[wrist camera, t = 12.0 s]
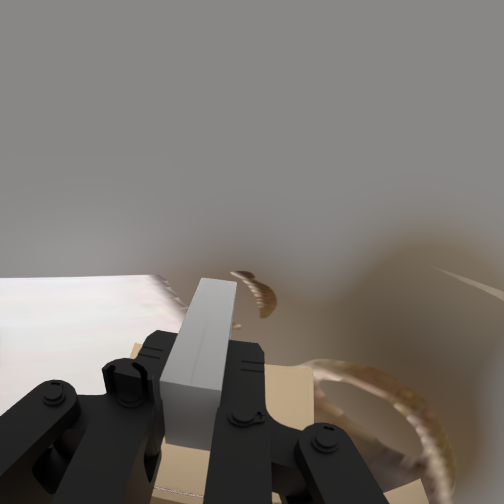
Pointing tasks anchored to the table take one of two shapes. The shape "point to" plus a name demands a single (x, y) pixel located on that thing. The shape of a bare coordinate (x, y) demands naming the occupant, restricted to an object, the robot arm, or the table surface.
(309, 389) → the carton flap
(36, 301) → the table surface
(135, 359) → the robot arm
